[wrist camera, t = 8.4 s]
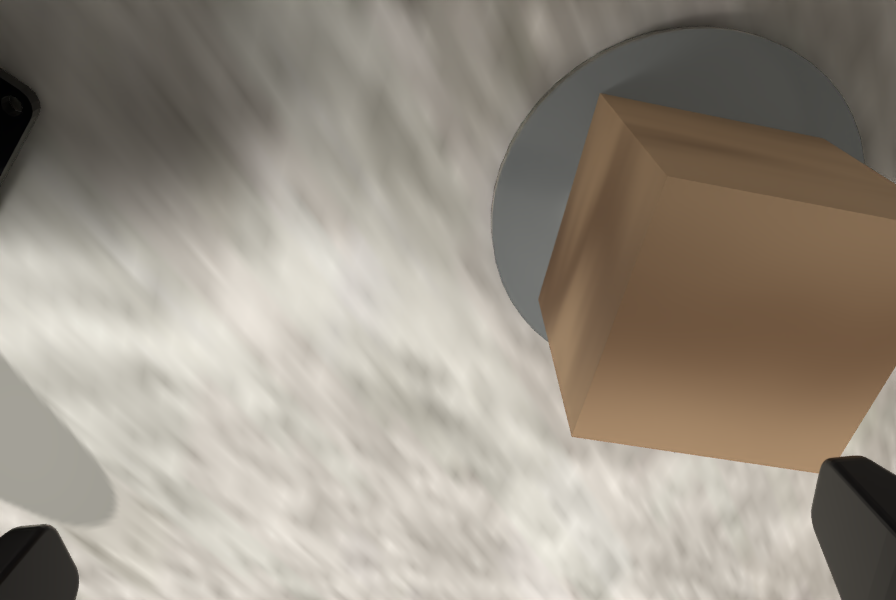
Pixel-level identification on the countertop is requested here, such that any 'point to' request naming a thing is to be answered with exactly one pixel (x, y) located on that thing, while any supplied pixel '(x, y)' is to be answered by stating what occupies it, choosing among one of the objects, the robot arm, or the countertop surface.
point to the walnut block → (720, 288)
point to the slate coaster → (657, 82)
